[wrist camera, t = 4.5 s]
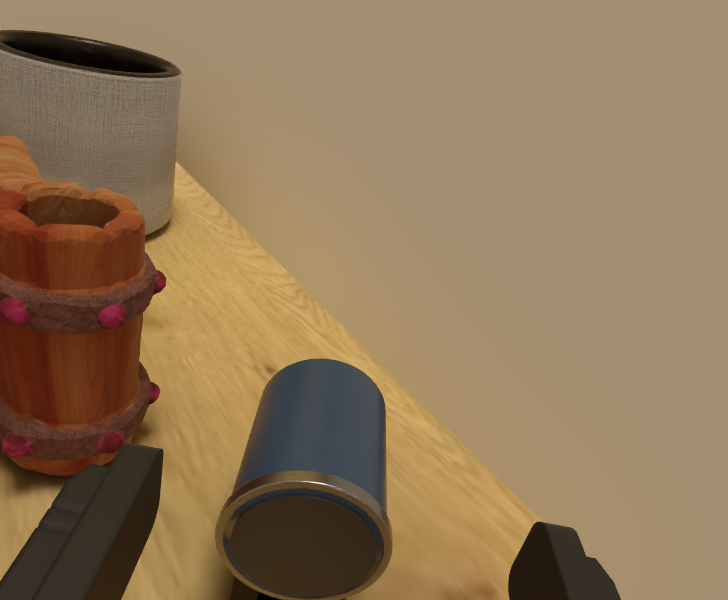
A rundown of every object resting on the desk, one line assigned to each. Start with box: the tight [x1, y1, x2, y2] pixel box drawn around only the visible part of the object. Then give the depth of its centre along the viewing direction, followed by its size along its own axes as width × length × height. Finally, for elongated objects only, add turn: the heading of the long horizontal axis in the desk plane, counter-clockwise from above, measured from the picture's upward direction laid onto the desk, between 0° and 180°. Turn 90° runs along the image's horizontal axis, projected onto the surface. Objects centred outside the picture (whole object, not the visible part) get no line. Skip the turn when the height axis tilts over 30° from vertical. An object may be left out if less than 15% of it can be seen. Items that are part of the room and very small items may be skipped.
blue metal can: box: [215, 359, 392, 600], centre depth 24 cm, size 8×7×7 cm
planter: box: [0, 30, 181, 236], centre depth 53 cm, size 16×16×16 cm
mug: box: [0, 136, 166, 476], centre depth 30 cm, size 15×8×15 cm, turn 49°
